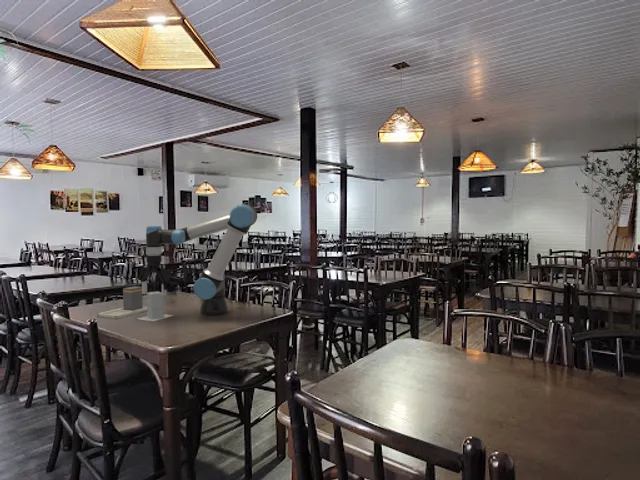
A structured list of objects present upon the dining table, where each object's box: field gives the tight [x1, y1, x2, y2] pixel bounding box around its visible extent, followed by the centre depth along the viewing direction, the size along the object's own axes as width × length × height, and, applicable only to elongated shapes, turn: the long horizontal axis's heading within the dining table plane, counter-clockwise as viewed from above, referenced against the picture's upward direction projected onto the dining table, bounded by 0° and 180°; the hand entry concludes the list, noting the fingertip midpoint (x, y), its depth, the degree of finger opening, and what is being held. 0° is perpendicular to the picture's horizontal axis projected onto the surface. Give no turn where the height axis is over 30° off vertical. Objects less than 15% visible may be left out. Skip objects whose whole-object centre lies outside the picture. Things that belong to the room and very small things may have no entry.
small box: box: [146, 291, 164, 319], centre depth 223 cm, size 8×6×13 cm
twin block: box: [122, 285, 144, 311], centre depth 239 cm, size 6×8×13 cm
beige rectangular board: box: [96, 305, 147, 320], centre depth 234 cm, size 14×24×2 cm, turn 157°
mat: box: [136, 313, 174, 322], centre depth 224 cm, size 12×14×1 cm
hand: (154, 294), depth 223 cm, fingers open, 13 cm apart
